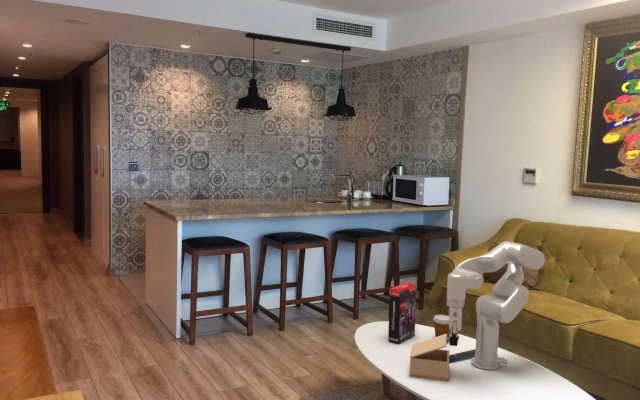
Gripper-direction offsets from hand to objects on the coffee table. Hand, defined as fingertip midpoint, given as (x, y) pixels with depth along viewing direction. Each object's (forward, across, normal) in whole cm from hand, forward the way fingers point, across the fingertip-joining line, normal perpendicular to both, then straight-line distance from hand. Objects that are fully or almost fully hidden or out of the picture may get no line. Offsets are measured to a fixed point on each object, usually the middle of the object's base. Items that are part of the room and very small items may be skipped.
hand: (453, 343), depth 234 cm
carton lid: (+3, 0, +7) cm, 8 cm away
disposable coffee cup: (+15, +40, +5) cm, 43 cm away
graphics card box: (+14, +36, +25) cm, 46 cm away
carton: (+14, 0, +9) cm, 17 cm away
